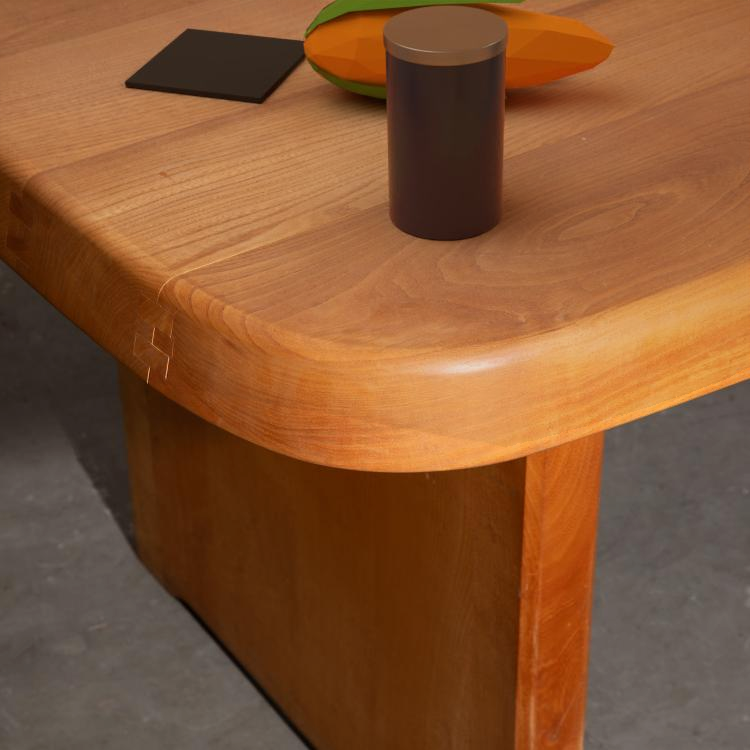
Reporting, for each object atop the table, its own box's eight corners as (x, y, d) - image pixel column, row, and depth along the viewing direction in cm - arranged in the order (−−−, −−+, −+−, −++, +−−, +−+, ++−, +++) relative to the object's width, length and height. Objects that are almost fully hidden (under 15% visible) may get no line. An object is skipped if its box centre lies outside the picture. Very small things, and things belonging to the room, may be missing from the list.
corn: (307, -40, 95) (615, -39, 93) (314, 66, 100) (607, 69, 98) (293, 8, 89) (620, 10, 88) (301, 119, 94) (612, 123, 92)
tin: (516, 194, 84) (522, 11, 78) (486, 248, 79) (489, 57, 73) (408, 179, 86) (405, 0, 80) (371, 232, 81) (365, 44, 75)
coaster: (315, 47, 103) (315, 41, 103) (261, 103, 96) (260, 97, 95) (187, 33, 106) (187, 28, 106) (125, 87, 98) (124, 81, 98)
